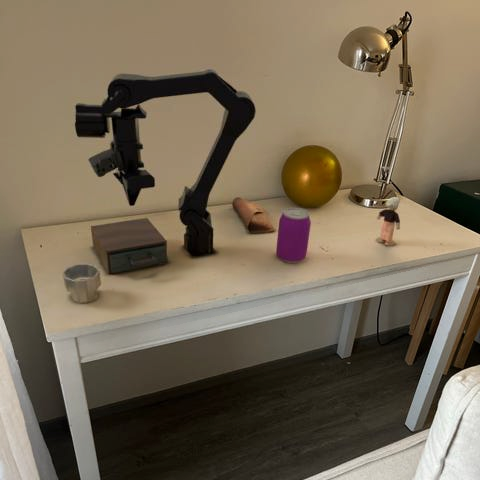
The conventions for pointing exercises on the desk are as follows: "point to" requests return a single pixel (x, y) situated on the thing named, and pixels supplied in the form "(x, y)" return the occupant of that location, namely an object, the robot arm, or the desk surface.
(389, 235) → the grandmother figurine
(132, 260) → the drawer
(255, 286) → the desk surface
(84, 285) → the cup
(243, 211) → the sunglasses case
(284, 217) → the beverage can
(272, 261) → the desk surface
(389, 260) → the desk surface
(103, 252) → the cabinet
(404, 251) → the desk surface
